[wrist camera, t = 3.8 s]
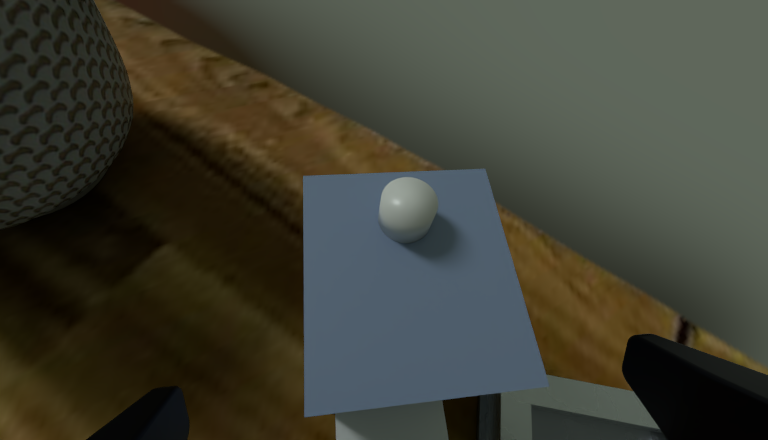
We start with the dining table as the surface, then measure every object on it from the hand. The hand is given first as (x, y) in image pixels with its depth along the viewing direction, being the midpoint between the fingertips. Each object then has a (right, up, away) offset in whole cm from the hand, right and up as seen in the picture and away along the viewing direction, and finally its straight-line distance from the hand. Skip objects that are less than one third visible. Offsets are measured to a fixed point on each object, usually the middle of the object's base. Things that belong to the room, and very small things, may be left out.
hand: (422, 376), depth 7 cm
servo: (-1, -3, +9) cm, 10 cm away
